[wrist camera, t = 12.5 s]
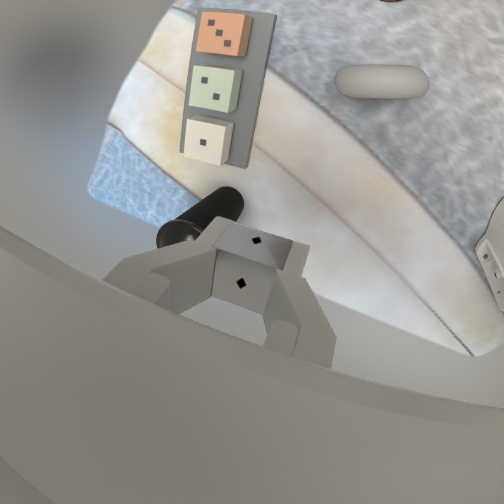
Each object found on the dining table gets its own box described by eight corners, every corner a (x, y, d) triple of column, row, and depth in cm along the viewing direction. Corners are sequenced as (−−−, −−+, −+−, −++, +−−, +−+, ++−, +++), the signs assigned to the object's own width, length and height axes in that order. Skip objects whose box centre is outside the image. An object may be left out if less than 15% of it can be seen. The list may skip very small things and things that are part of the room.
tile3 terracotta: (212, 14, 30) (202, 11, 28) (252, 17, 29) (244, 14, 27) (206, 51, 33) (195, 51, 31) (245, 56, 32) (236, 56, 30)
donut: (417, 66, 28) (438, 66, 20) (420, 94, 30) (441, 103, 22) (335, 67, 31) (328, 66, 23) (339, 94, 33) (334, 102, 25)
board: (201, 8, 31) (192, 6, 29) (277, 15, 29) (271, 12, 27) (182, 150, 44) (174, 155, 42) (247, 166, 42) (241, 172, 40)
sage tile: (204, 64, 34) (193, 65, 32) (242, 70, 33) (234, 70, 31) (198, 102, 37) (188, 105, 35) (236, 109, 36) (227, 112, 34)
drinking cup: (244, 172, 43) (169, 250, 27) (259, 221, 46) (201, 315, 30) (197, 182, 46) (113, 256, 30) (214, 227, 49) (145, 313, 34)
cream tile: (197, 114, 38) (186, 119, 36) (233, 122, 38) (225, 127, 35) (193, 150, 41) (182, 157, 39) (228, 159, 41) (219, 166, 38)
